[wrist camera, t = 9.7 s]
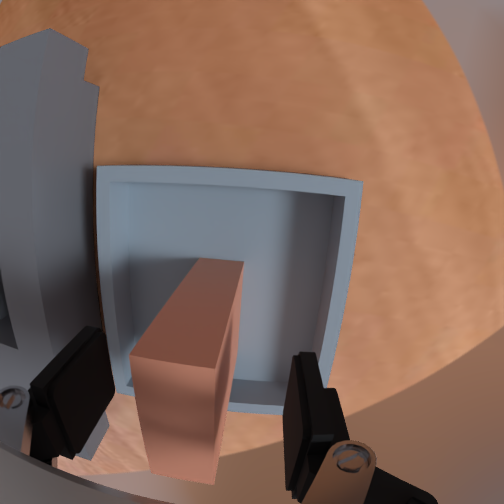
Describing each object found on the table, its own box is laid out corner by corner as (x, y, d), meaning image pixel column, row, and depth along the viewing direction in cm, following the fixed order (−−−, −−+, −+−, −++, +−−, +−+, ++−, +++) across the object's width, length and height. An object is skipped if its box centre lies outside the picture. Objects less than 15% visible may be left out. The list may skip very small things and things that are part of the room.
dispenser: (0, 83, 16) (-59, 74, 9) (103, 57, 15) (45, 25, 9) (28, 382, 22) (-8, 421, 16) (118, 410, 22) (88, 464, 16)
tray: (121, 164, 17) (96, 165, 14) (347, 178, 17) (363, 181, 14) (131, 367, 21) (116, 392, 18) (313, 387, 21) (318, 415, 18)
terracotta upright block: (199, 257, 18) (128, 354, 8) (244, 261, 18) (215, 368, 8) (198, 348, 19) (151, 473, 10) (237, 353, 19) (214, 484, 10)
